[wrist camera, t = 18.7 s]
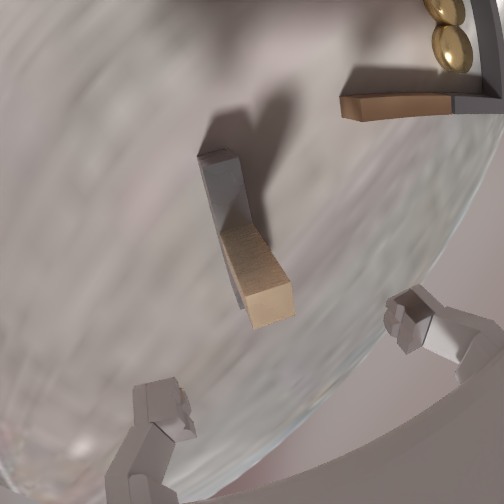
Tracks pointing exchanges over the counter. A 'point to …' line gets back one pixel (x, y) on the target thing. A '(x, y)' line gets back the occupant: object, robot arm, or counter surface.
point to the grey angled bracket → (485, 64)
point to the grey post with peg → (244, 243)
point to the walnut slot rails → (394, 105)
